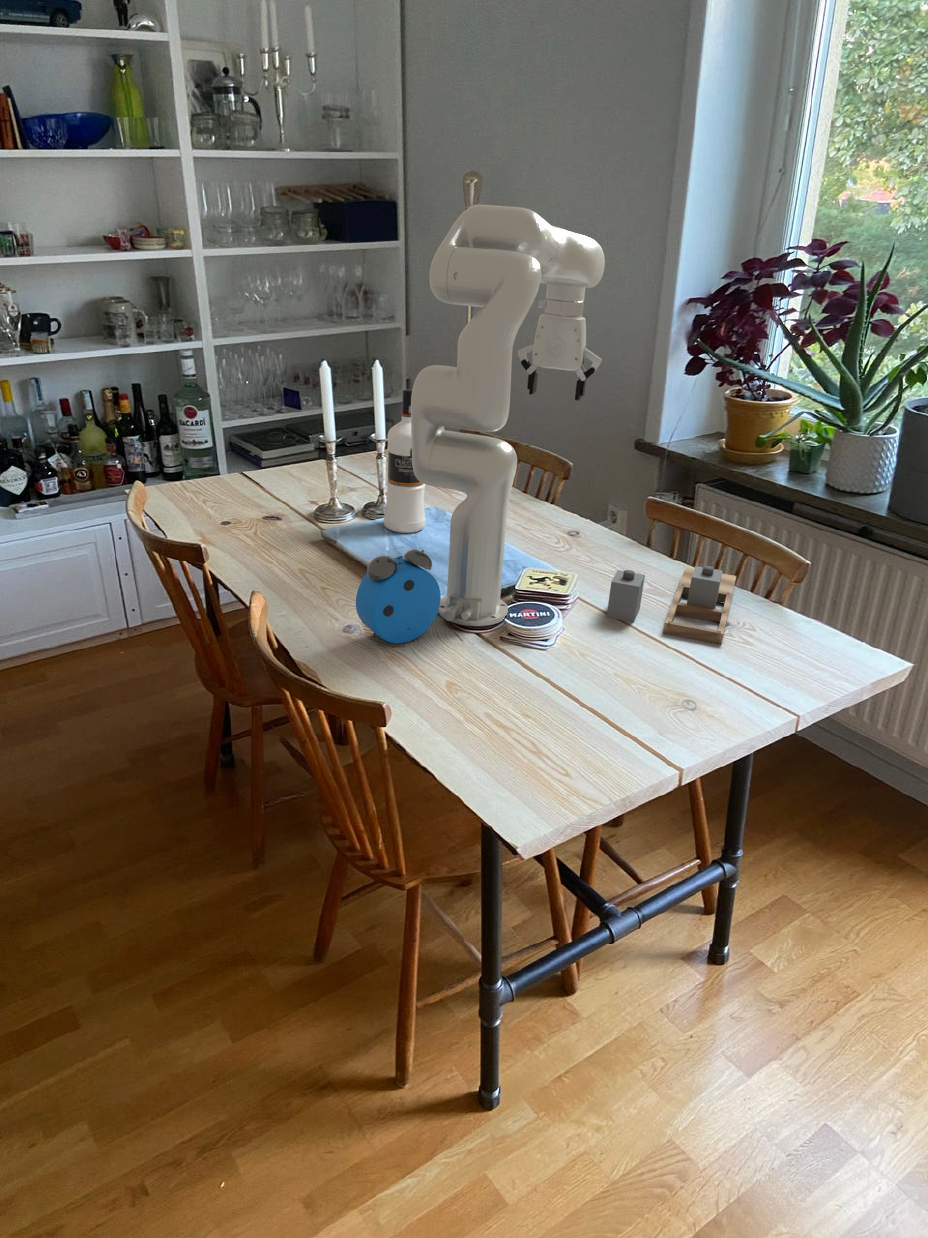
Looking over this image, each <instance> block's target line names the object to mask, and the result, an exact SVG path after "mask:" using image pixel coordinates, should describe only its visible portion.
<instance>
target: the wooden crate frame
mask: <svg viewBox="0 0 928 1238" xmlns="http://www.w3.org/2000/svg"><path fill="white" fill-rule="evenodd" d="M694 569H695V567H693V568H692V567H688V566H685V567H684V569H683V572H682V575H681V577H680V580H679V583H678V585H677V589H676V592H675V594H674V597H673V600H672V603H671V605H670V608H669V609H668V613H667V615H666V619H665V621H664V628H663V631H662V633H663V634H666V635H667V634H668V635H672V636H676V637H678V636H679V637H682V638H686V639H692V640H697V641H698V640H699V641H701V642H702V641H703V642H709V643H713V644H717V645H722V643H723V638H724V635H725V629H726V625H727V621H728V616H729V612H730V607H731V603H732V598H733V595H734V594H733V593H734V589H735V584H736V580H737V575H733V574H729V573H728V574H727V573H722V577H721V582H720V587H719V592H718V598H717V602H724V604H723V609H716V608H715V609H712V608H706V607H701V606H696V605H690V604H687V603H685V602H684V603H683V602H681V600H682V598H683V597H684V598H688V595H689V589H690V584H691V578H692V575H693V572H694ZM677 615H678V616H682V617H683V616H684V617H689V618H694V619H698V620H703V621H704V620H705V621H709V620H710V621H709V622H714V621H716V622H715V623H719V622H720V623H719V624H718V629H713V628H708V627H707V628H706V627H703V626H697V625H692V624H686V623H682V622H676V621H674V620H675V618H676V616H677Z"/></svg>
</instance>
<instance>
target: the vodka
mask: <svg viewBox="0 0 928 1238" xmlns="http://www.w3.org/2000/svg"><path fill="white" fill-rule="evenodd" d="M412 390H413V389H411V388H406V389H405V388H404V389H403V390H402V397H401V398H402V399H401V400H402V401H401V403H402V404H401V421H400V422H397V423H396V424H395V425H393V426H392V427H390V428H389V430H388V432H387V448H386V449H387V481H386V484H385V485H386V490H387V491H386V492H387V493H386V504H385V511H384V512H385V513H384V514H383V524H384V526H385V528H386V529H388V530H390V531H391V532H393V533H394V532H395V533H401V534H414V533H417V532H420V531H421V530H423V529H425V527H426V524H427V523H426V522H427V517H426V514H425V512H426V511H425V488H426V484H423V483H421V482H420V481H419V480H418V479H417V478H416V476H415V474H414V471H413V464H412V436H411V396H412Z"/></svg>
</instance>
